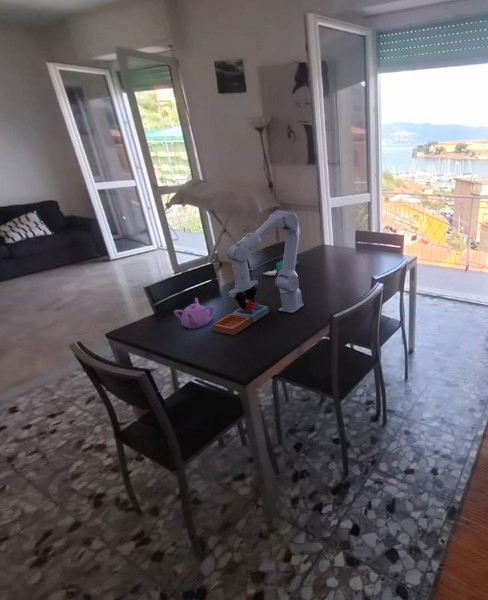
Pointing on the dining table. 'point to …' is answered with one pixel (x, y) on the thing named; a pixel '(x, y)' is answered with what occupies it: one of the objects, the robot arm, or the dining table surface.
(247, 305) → the red scoop
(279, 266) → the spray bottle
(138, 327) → the dining table surface
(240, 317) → the orange tray
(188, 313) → the teapot
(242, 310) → the blue measuring cup
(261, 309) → the blue bin
